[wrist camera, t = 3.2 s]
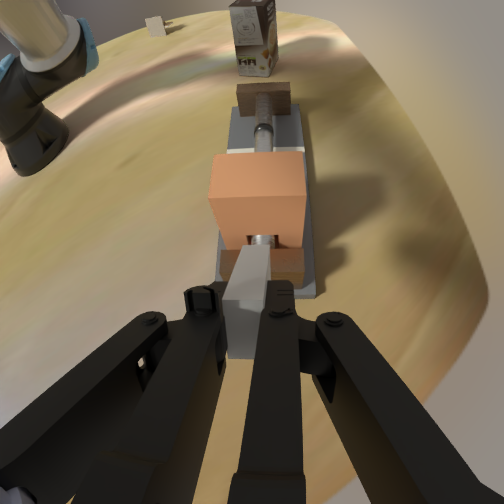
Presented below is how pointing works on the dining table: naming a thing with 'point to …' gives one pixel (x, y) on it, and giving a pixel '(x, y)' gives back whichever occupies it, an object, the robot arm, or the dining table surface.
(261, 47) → the coffee box
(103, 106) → the dining table surface
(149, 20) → the architectural model
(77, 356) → the dining table surface
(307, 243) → the base board
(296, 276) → the pipe rig
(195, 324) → the robot arm
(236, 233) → the block
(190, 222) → the dining table surface
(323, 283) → the dining table surface
